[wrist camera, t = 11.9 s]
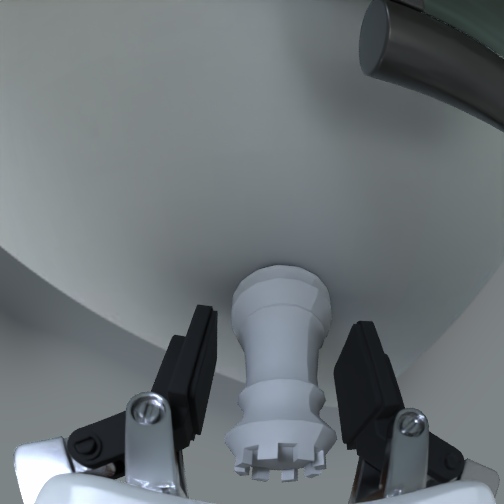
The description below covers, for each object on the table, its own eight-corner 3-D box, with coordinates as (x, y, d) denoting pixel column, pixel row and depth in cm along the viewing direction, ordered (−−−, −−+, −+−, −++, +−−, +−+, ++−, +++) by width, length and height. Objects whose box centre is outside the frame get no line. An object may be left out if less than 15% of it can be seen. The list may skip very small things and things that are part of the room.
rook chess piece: (275, 238, 12) (271, 425, 4) (348, 295, 13) (391, 457, 6) (214, 304, 13) (171, 463, 6) (285, 347, 14) (283, 493, 7)
